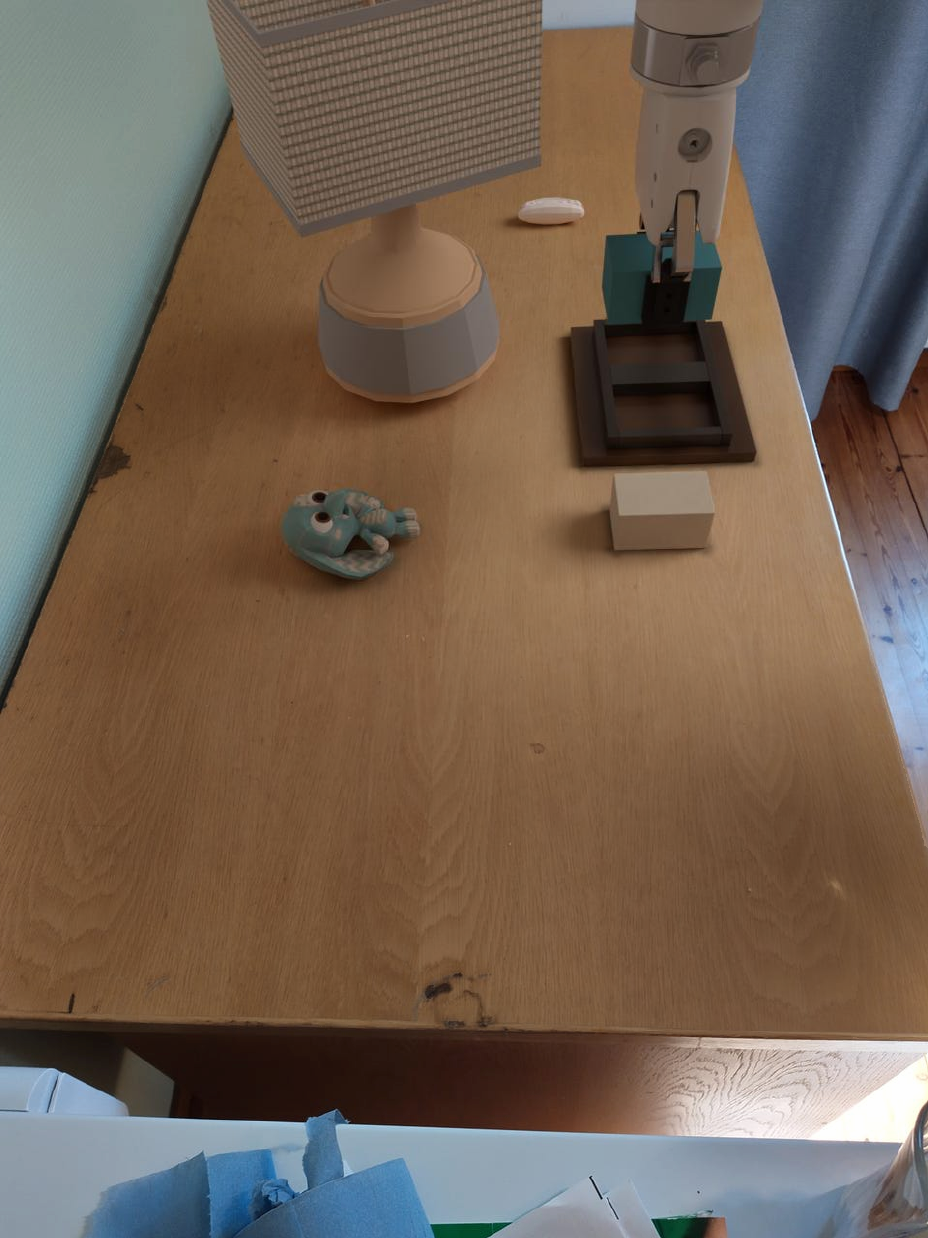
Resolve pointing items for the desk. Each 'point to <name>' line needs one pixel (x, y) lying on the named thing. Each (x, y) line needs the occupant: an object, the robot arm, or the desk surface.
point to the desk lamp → (388, 163)
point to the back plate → (658, 395)
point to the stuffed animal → (344, 531)
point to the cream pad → (661, 510)
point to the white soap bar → (551, 211)
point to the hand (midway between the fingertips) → (657, 297)
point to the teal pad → (634, 261)
